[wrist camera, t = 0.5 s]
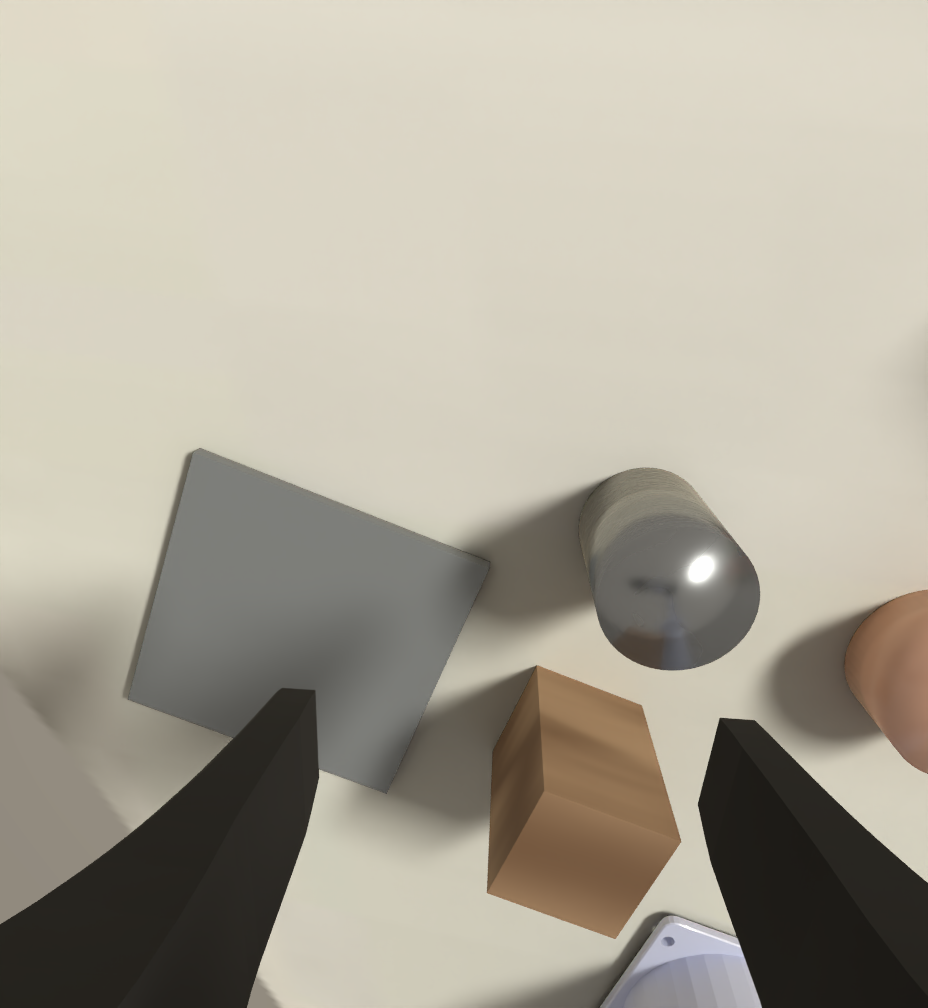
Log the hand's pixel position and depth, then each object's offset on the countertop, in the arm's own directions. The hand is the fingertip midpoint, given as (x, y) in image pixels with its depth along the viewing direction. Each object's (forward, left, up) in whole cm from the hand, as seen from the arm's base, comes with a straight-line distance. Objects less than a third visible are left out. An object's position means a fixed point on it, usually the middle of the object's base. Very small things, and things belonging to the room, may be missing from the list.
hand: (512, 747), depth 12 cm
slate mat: (-6, +5, -11) cm, 13 cm away
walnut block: (-6, -5, -11) cm, 13 cm away
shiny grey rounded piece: (+2, -4, -11) cm, 11 cm away
